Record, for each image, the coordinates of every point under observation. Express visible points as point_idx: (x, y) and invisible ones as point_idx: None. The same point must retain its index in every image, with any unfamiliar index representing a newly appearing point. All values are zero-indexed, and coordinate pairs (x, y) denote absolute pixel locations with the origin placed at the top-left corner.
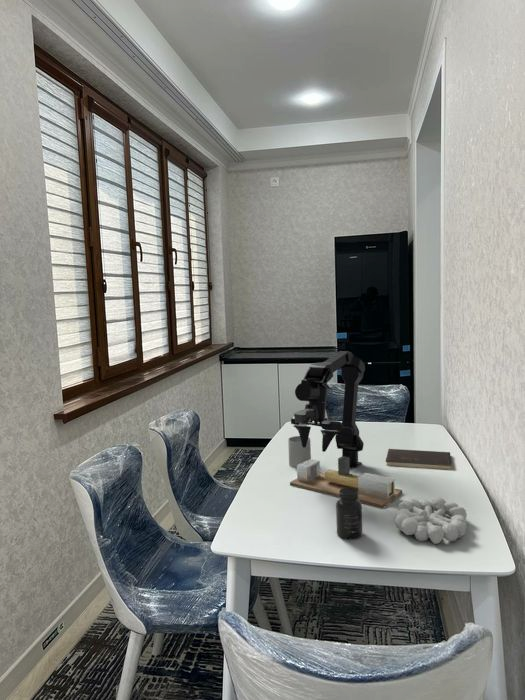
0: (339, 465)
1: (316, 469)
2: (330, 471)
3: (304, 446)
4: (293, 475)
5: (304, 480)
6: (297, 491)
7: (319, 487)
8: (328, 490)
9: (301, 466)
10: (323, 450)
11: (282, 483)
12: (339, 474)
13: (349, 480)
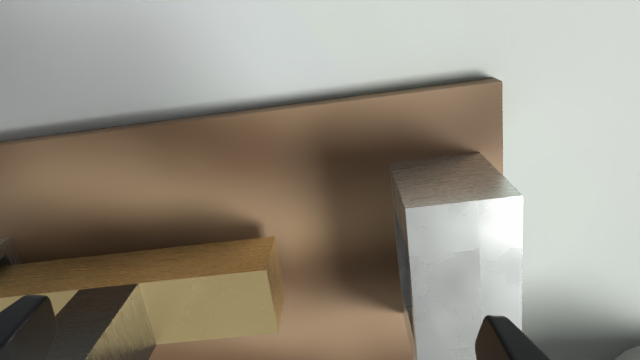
0: (89, 336)
1: (410, 312)
2: (237, 301)
3: (484, 341)
4: (587, 234)
5: (413, 162)
6: (365, 18)
7: (253, 145)
8: (166, 142)
9: (466, 200)
10: (11, 306)
11: (565, 64)
12: (126, 286)
13: (55, 278)
